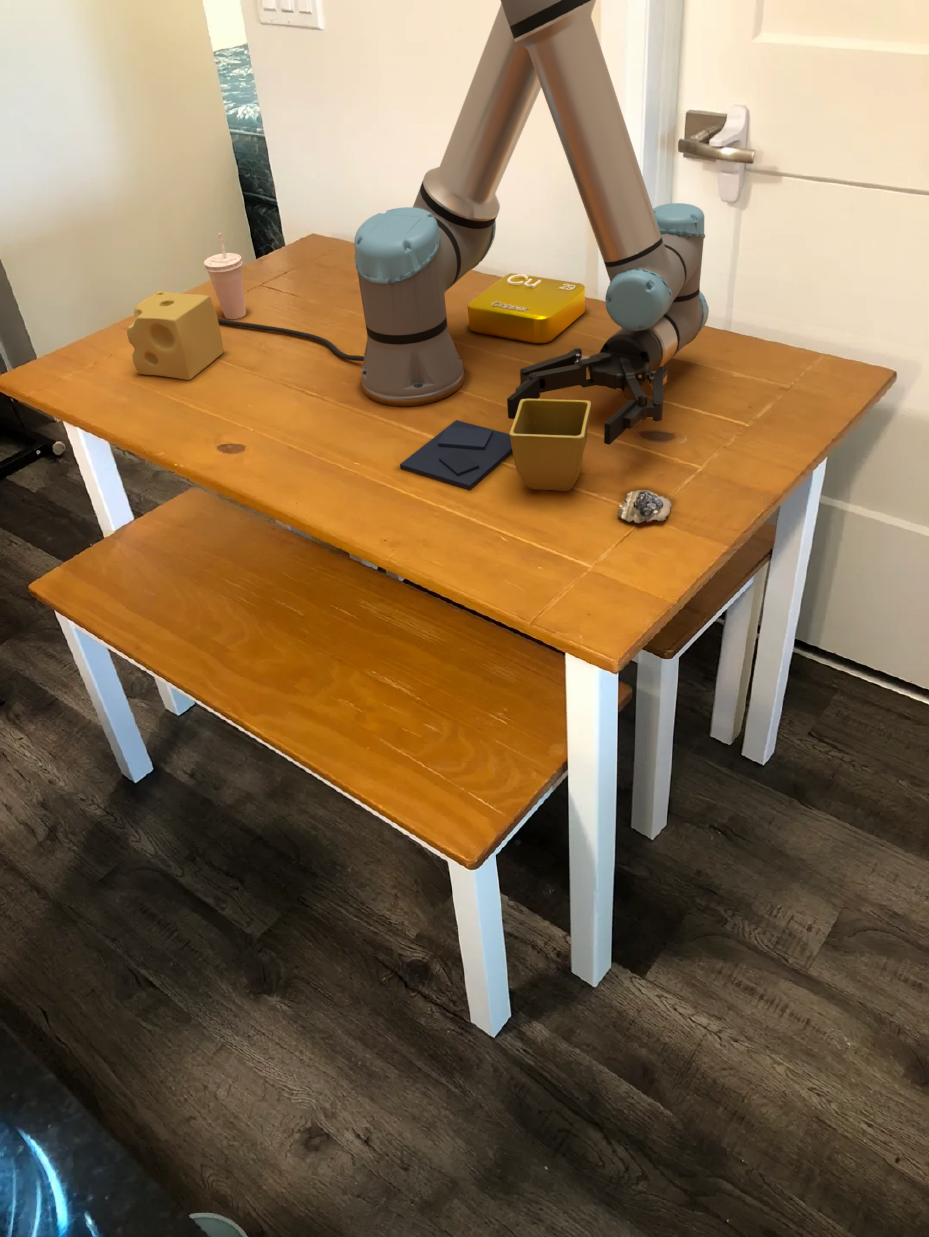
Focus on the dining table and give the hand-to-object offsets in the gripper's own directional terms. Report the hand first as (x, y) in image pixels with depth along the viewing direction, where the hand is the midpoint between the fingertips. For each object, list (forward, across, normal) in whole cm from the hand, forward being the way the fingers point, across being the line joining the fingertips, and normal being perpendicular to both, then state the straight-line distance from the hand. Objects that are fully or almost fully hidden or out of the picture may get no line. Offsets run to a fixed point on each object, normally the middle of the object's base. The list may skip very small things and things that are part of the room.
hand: (557, 421), depth 120 cm
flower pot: (+2, 0, -8) cm, 8 cm away
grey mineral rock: (+2, -13, -8) cm, 15 cm away
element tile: (-38, +28, -8) cm, 48 cm away
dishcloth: (+2, +13, -7) cm, 15 cm away
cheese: (-1, +70, -8) cm, 70 cm away
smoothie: (-19, +76, -8) cm, 79 cm away
